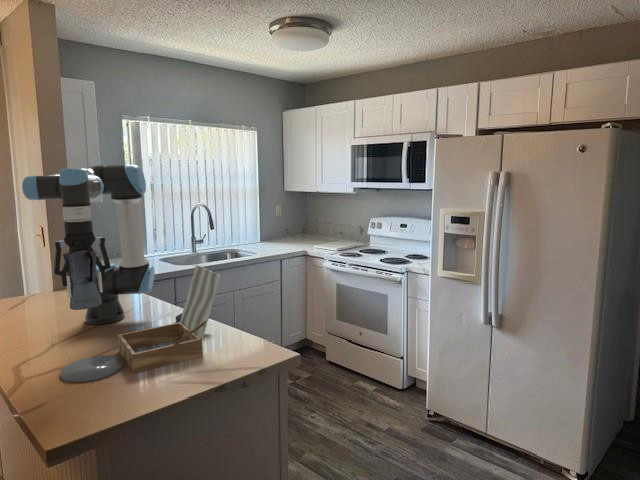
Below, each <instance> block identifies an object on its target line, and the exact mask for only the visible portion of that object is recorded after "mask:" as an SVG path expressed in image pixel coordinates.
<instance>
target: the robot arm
mask: <svg viewBox="0 0 640 480" xmlns="http://www.w3.org/2000/svg"><path fill="white" fill-rule="evenodd" d="M21 184H22V186H21V188H22V193H23V195H24V197H25V198H26V199H28V200H30V201H45V200H61V205H62V207H61V208H62V216H63V220H64V223H63V225H64V226H63V227H64V235H65V236H64V238H63V239H61V240H55V241H53V244H54V247H55V254H54V265H53V274H55V276H61V284H62V286H63V287H66V293H67V297H68V298H70V297H72V296H71V283H70V277H69V275H68V272H67V271H68V269H69V266H70V264H69V260H68V258H67V260H66V262H65V261H64V264H63V265H62V269H61V259H62V249H63V248H64V244H65V245H66V246H68V247H69V248H68V251H69V254H71V253H74V252H75V251H81V250H86V251H87V250H88V251H94V250H95V249H93V247H92V246H93V244H94V242H95V241H96V243H97V244H98V246H99V250H100V253H101V257H102V260H103V263H102V262H101V260H100V259H99V257H98V256H97V254H96V282H97V285H98V289H99V293H100V296H101V300H102V304H101V305H100V306H98V307H94V308H90V309H86V312H85V316H84V320H85V323H86V324H88V325H92V326H93V325H95V326H97V325H107V324H112V323H116V322H119V321H121V320H123V319H124V318H125V317H126V316H125V315H126V314H125V310H124V308H123V306H122V304H121V302H120V300H119V295H142V294H147V293H150V292H151V291H152V289H153V285H154V281H155V267H154V266H153V265H151V264H150V261H149V260H148V259H147V258H145V249H144V242H143V230H142V221H141V211H140V201H141V199H142V198H143V194H145V193H146V190H147V187H146V186H147V183H146V178H145V174H144V172H143V171H142V168H141V167H140V166H138V165H137V164H129V163H128V164H127V163H125V164H106V165H105V164H100V165H92V166H88V167H83V168H62V169H60V170H59V171H58V173H56V174H47V175H29V176H26V177H24V178H23V180H22V183H21ZM100 195H110V198H111V200H112V201H113V202H114V203H115V205H116V213H117V214H116V215H117V222H118V230H119V231H118V232H119V233H118V234H119V240H120V247H121V248H120V249H121V257H122V260H121V261H120V262H119V263H118V266H117V265H116V263H113V262H110V260H109V256H108V252H107V248H106V245H105V243H106V238H105V237H103V236H95V234H94V230H93V229H94V228H93V226H94V225H93V221H92V220H91V219H92V209H91V199H95V198H97V197H99V196H100ZM60 269H61V270H60Z"/></svg>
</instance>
